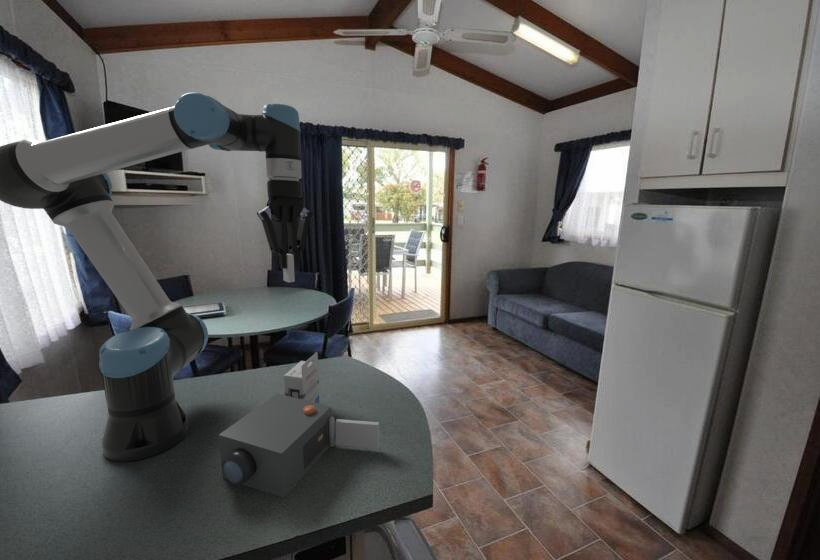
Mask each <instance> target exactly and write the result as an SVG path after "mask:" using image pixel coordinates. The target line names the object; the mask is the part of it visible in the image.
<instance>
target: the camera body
mask: <svg viewBox="0 0 820 560" xmlns="http://www.w3.org/2000/svg"><path fill="white" fill-rule="evenodd" d="M332 415H333V414H332V406H331V405H327V404H325V403H324V404H323V403H320V402H319V403H315V402H311V401H307V400H302V399H298V398H294V397H289V396H285V394H280V393H275V394H274V395H272V396H271V397H270V398H269V399H267V400H266V401H264V402H263V403H261V404H260V405H258V406H257V407H256V408H255V409H253V410H252V411H250V412H249V413H247V414H246V415H244V416H243V417H242V418H240V419H239V420H237V421H236V422H234V424H232V425H230V426H229V427H227V428H226V429H225V430H223V431H222V432H220V433H219V434H218V442H219V452H220V463H221V464H220V465H221V474H222V478H225V479H226V480H227V481H228V482H229V483H230V484H232V485H235V486H243V485H244V486H247V487H250V488H254V489H256V490H259V491H261V492H262V491H263V492H265V493H269V494H271V495H273V496H276V497H280V498H283V499H285V498H286V497H287V496H288V494H289V493H290V492H291V491H293V489H294V488H295V487H296V485H298V483H299V482H300V481H301V480H302V478H304V476H306V474H307V473H308V472H309V471H310V470H311V469H312V467H313V466H314V465H315V464H316V463H317V462H318V460H319V459H320V458H321V457H322V456H323V455H324V454H325V453H326V451H328V449H329V448H331V447H333V448H334V447H335V445H336V422H335V417H334V416H332Z"/></svg>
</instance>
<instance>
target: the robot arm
mask: <svg viewBox="0 0 820 560" xmlns="http://www.w3.org/2000/svg"><path fill="white" fill-rule="evenodd" d="M299 115H300V114H299V111H298V110H297V109H296V108H295V107H293V106H291V105H288V104H284V103H283V104H282V103H281V104H280V103H269V104H264V106H263V110H262V114H243V113H241V114H240V113H237V112H235V111H234V110H233V109H231V108H228V106H225V105H223V104H222V103H221V102H220V101H218V100H217V99H216V98H213V97H211V96H210V95H206V94H203V93H200V92H188V93H184V94H183V95H181V96H180V97H179V98H178V99H177V101H176V102H175V104H174V105H173V106H171V107H167V108H164V109H159V110H155V111H151V112H148V113H147V112H146V113H144V114H141V115H136V116H133V117H129V118H126V119H123V120H118V121H115V122H111V123H107V124H103V125H100V126H96V127H93V128H88V129H85V130H82V131H77V132H74V133H70V134H67V135H66V134H65V135H63V136H59V137H55V138H52V139H51V138H50V139H47V140H43V141H40V140H37V139H32V138H24V139H22V140H18V141H14V142H10V143H7V144H4V145H1V146H0V201H1V202H3V203H4V204H7V205H10V206H12V207H17V208H21V209H27V210H28V209H31V210H38V209H39V210H41V209H43V210H44V211H45V214H47V215H48V217H49V218H50V220H51V221H52V223H53V224H54V225H57V226H61V227H65V228H66V229H68V231H69V232H70V234H71V235H72V236H73V238H74V239H75V241H76V242H77V244H78V245H79V246H80V248H81V249H82V251H83V252H84V254H85V255H86V257H87V258H88V259H89V261H90V263H92V265H93V267H94V268H95V269H96V270H97V272H98V274H99V276H101V278H102V280H104V282H105V283H106V285H107V287H109V289H110V291H111V292H112V294H113V295H114V296H115V297H116V299H117V301H118V302H119V303H120V305H121V306H122V308H123V309H124V311H125V312H126V313H127V315H128V316H129V319H131V322H132V323H131V325H130V328H129V330H128V331H123V332H120V333H118V334H115V335H113V336H111V337H110V338H109V339H107V340H106V341H105V342H104V343H103V344H102V345H101V346H100V348H99V352H98V353H99V355H98V356H99V363H98V366H99V370H100V372H101V373H100V374H101V378H102V384H103V391H104V396H105V403H106V407H107V412H108V413H107V414H108V416H107V420H106V424H105V428H104V433H103V436H102V440H101V445H102V446H101V447H102V453H103V455H104V457H105V458H107V459H108V460H110V461H113V462H132V461H139V460H140V461H141V460H143V459H144V460H145V459H147V458H151V457H154V456H155V455H159V454H161V453H163V452H165V451H167V450H169V449H171V448H172V447H174V446H175V445H177V444H178V443H179V442H181V441H182V440H183V439H184V437H185V436H186V435H187V434H188V431H189V420H188V416H187V415H186V413H185V411H184V409H183V408H182V406H181V404H180V403H179V401H178V400H177V398H176V392H175V383H174V376H175V375H177V374H178V373H179V372H180V371H181V370H183V368H185V367H186V366H187V365H188V364H190V362H193V361H194V360H196V359H197V358H198V357H199V356H200V354H201V353H202V352H203V350H204V349H206V346H207V344H208V341H209V330H208V328H207V325H206V323H205V322H204V321H203V320H202V318H200V317H199V316H198V315H196V314H192V313H190V312H187V311H186V309H185V308H184V307H183V305H182V304H181V303H178V302H177V303H176V302H173V301H172V300H170V298H169V297H168V296H167V294H166V292H165V291H164V289H162V286H161V285H160V283H159V282H158V281H157V278H156V277H155V276H154V274H153V273H152V271H151V270H150V268H149V267H148V265H147V263H146V262H145V261H144V260H143V258H142V256H141V255H140V253H139V251H138V250H137V248H136V247H135V246H134V244H133V243H132V241H131V240H130V238H129V237H128V236H127V234H126V232H125V231H124V229H123V228H122V226H121V225H120V223H119V221H118V220H117V219H116V217H115V216H114V214H113V212H112V211H113V209H114V206H115V202H114V201H113V198H112V194H113V192H112V189H113V186H112V181H111V179H110V177H109V175H108V173H110V172H113V171H117V170H121V169H124V168H127V167H131V166H134V165H135V166H136V165H138V164H142V163H145V162H146V163H147V162H150V161H153V160H156V159H160V158H163V157H166V156H170V155H174V154H178V153H181V152H185V151H189V150H193V149H197V148H200V147H204V146H207V145H208V146H209V147H210V148H211V149H213V150H216V151H225V152H231V151H234V152H235V151H236V152H237V151H238V152H240V151H241V152H261V153H262V152H264V153H265V165H266V167H265V168H266V177H267V178H269V180H267V182H266V184H267V186H266V187H267V197H268V199H267V200H268V201H267V203H266V206H265V207H264V208H263V209H262V210H258V211H257V212H256V215H257V217H258V218H259V220H260V221H261V224H262V227H263V229H264V230H263V231H264V233H265V237H266V239H267V243H268V247H269V250H270V252H272V253H276V254H278V259H279V261H278V262H279V263H278V264H279V268H280V269H282V273H283V274H282V275H283V277H282V278H283V281H284V282H286V283H295V281H296V280H295V268H297V267H298V255H299V254H300V252H303V251H304V250H305V247H306V242H307V236H308V230H309V227H310V226H309V225H310V221H311V219H312V218H313V216H314V212H313V211H312V210H308V209H307V208H306V207H305V205H304V203H303V199H302V198H303V183H302V181H300V180H301V179H302V153H301V149H302V148H301V133H302V131H301V125H300V117H299ZM272 216H273V217H274V219H275V221H274V222H275V225H276V232H275V228H274V225H273V221H272V218H271V217H272ZM299 217H300V218H299ZM298 219H299V223H298ZM297 226H298V227H297Z"/></svg>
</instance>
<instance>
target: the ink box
mask: <svg viewBox="0 0 820 560" xmlns="http://www.w3.org/2000/svg"><path fill="white" fill-rule="evenodd" d="M318 354H319V353H318V351H316V352H314V354H312V356H310V357H309V358H308V359H307V360H306V361H305V360H300V361H298V363H297V364H296V365H295V366H293V367H292V368H291V369H290V370H288V372H287V373H285V374H284V375H283V381H284V383H283V384H284V395H285V396H289V397H294V398H298V399H302V400H307V401H311V402H315V403H319V404H320V376H319V355H318Z"/></svg>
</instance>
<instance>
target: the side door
mask: <svg viewBox="0 0 820 560" xmlns="http://www.w3.org/2000/svg"><path fill="white" fill-rule="evenodd" d="M379 435H380V422H378V421H367V420H354V419H353V420H352V419H344V418H343V419H339V418H336V420H335V445H336V446H345V447H355V448H365V449H366V448H369V449H377V450H378V448H379V446H380V444H379V443H380V442H379V441H380V436H379Z"/></svg>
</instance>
